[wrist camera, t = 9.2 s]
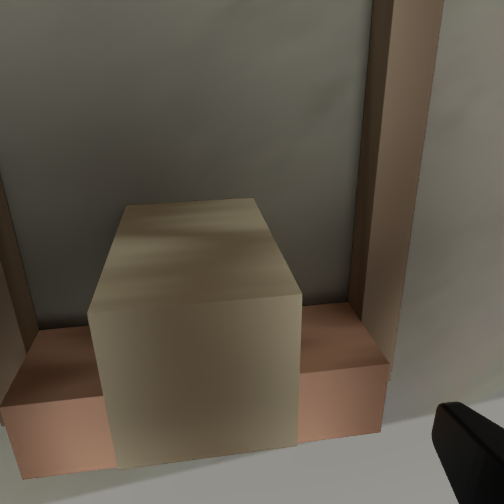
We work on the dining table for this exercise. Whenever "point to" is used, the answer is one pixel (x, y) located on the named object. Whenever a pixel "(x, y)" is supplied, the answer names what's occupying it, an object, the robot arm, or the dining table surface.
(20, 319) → the guide track
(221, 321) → the block
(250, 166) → the dining table surface
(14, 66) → the dining table surface
